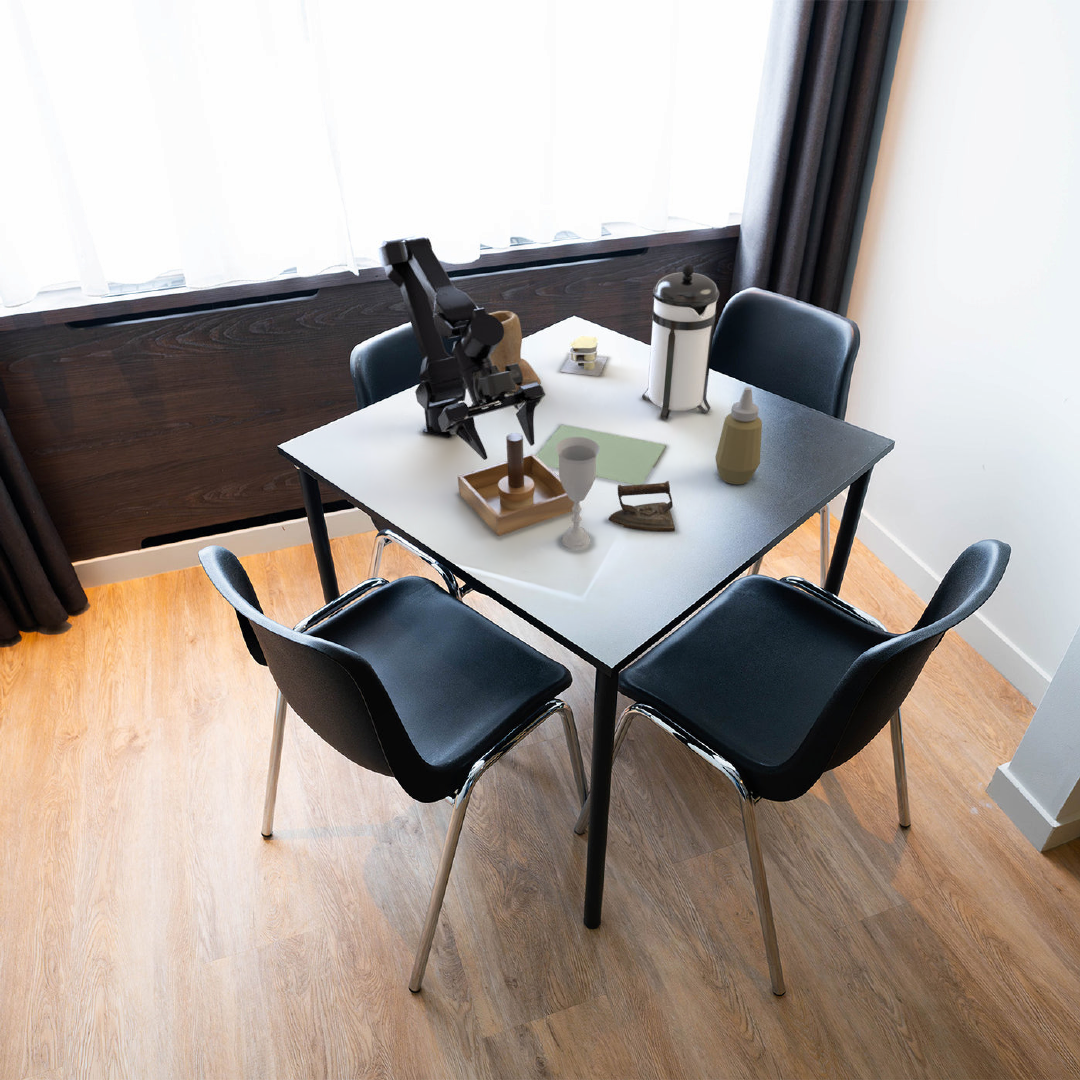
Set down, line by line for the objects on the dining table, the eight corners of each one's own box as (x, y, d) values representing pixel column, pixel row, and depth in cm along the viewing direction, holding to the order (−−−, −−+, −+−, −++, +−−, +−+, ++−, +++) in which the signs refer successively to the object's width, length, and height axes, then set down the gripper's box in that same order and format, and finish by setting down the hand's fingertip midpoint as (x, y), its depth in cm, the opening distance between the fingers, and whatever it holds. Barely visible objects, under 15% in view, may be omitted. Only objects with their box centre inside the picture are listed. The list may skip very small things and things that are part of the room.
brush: (492, 506, 149) (489, 442, 141) (507, 488, 153) (505, 425, 146) (525, 514, 146) (524, 449, 139) (540, 495, 151) (539, 431, 143)
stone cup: (475, 369, 194) (471, 307, 185) (525, 363, 197) (523, 301, 188) (489, 399, 182) (486, 333, 174) (542, 391, 185) (541, 326, 176)
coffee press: (724, 398, 182) (742, 258, 164) (693, 429, 171) (709, 283, 153) (651, 379, 189) (661, 244, 171) (617, 408, 178) (624, 267, 160)
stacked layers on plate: (570, 354, 201) (570, 332, 197) (607, 358, 199) (608, 335, 195) (560, 372, 193) (560, 349, 190) (598, 376, 191) (599, 353, 188)
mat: (530, 464, 161) (530, 462, 160) (561, 426, 172) (561, 424, 172) (641, 487, 154) (641, 485, 153) (665, 446, 165) (665, 444, 165)
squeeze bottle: (760, 469, 158) (774, 381, 147) (754, 492, 152) (769, 402, 141) (716, 462, 160) (728, 375, 150) (709, 484, 154) (720, 395, 143)
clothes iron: (679, 533, 143) (671, 489, 136) (614, 547, 144) (602, 504, 138) (672, 507, 148) (664, 463, 141) (609, 520, 150) (598, 478, 143)
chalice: (553, 530, 143) (553, 438, 132) (593, 528, 144) (596, 435, 133) (558, 556, 137) (558, 462, 127) (599, 554, 138) (603, 459, 127)
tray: (459, 494, 152) (457, 475, 150) (533, 471, 159) (532, 453, 156) (498, 538, 142) (497, 518, 139) (576, 511, 148) (576, 492, 145)
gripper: (439, 363, 136) (473, 452, 135) (539, 338, 143) (573, 422, 142) (424, 389, 146) (456, 471, 145) (518, 364, 154) (549, 443, 152)
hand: (509, 451), depth 146 cm, fingers open, 9 cm apart
